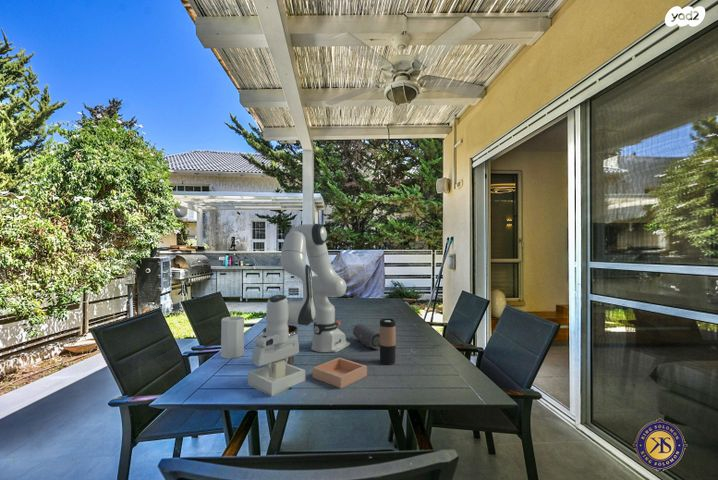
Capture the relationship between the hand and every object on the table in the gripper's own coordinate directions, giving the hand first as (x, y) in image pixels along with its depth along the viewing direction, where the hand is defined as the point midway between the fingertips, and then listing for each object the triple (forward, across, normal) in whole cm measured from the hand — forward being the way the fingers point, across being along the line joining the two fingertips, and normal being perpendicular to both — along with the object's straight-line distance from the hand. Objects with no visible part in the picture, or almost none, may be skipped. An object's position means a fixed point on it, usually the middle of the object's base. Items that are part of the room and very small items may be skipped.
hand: (276, 370), depth 130 cm
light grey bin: (+5, 0, 0) cm, 5 cm away
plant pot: (+5, -15, -18) cm, 24 cm away
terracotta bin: (+5, -20, +16) cm, 26 cm away
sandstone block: (+2, 0, 0) cm, 2 cm away
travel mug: (+5, -49, +20) cm, 53 cm away
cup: (+5, -6, -45) cm, 46 cm away
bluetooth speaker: (+6, -64, -4) cm, 64 cm away
